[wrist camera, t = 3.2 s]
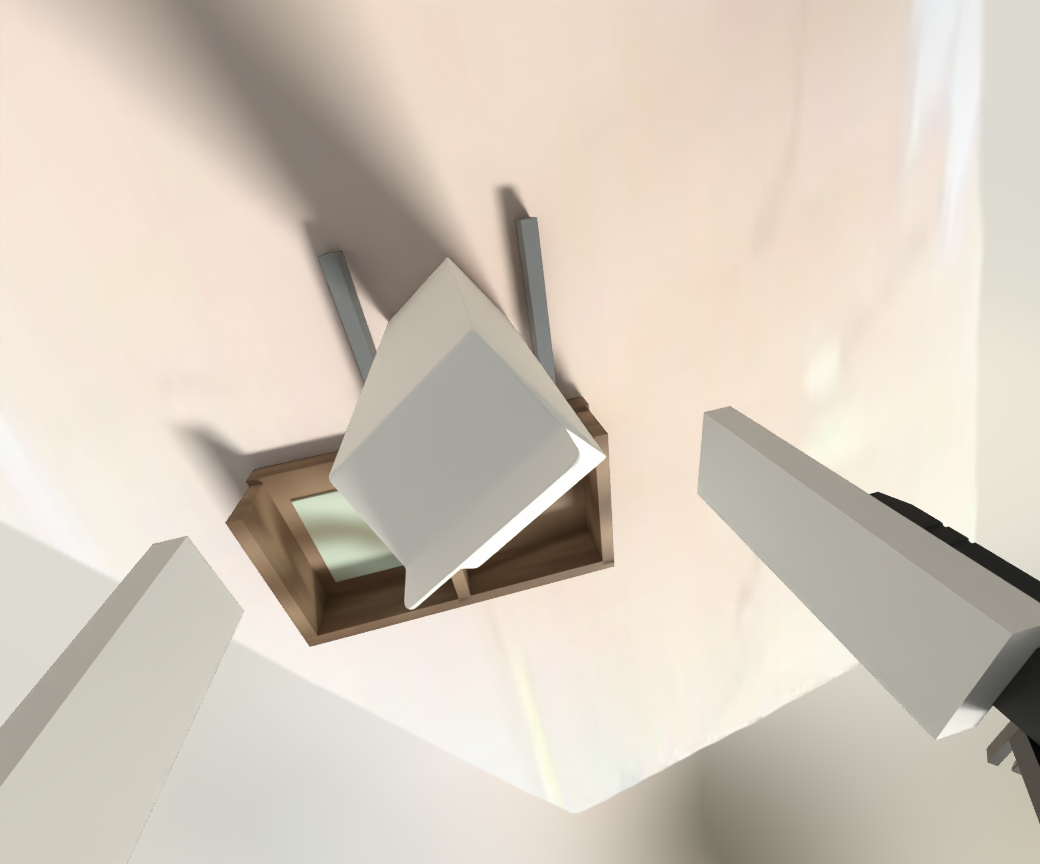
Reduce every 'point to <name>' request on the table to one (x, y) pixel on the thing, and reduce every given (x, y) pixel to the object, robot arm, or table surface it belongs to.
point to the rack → (377, 571)
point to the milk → (456, 435)
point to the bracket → (533, 285)
